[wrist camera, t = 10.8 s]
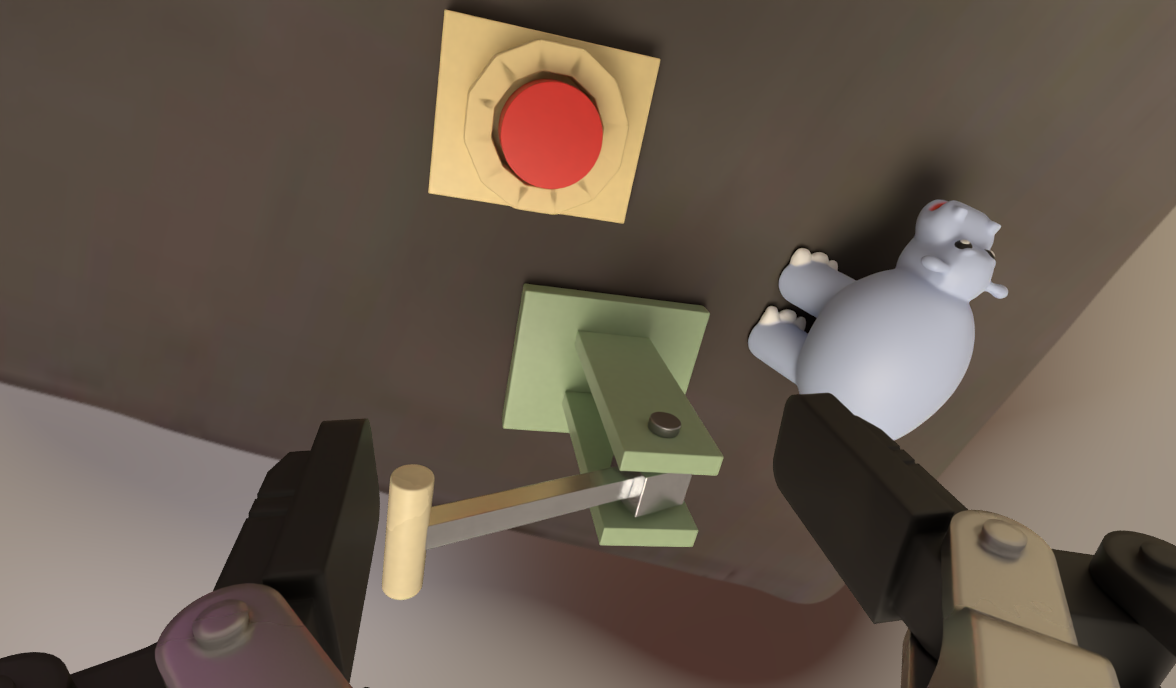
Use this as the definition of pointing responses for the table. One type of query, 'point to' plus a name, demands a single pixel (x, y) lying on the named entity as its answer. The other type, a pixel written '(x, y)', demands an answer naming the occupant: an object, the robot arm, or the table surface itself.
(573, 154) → the button
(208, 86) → the table surface
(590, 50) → the button box
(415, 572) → the lever
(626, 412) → the bracket
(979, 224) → the hippopotamus toy
